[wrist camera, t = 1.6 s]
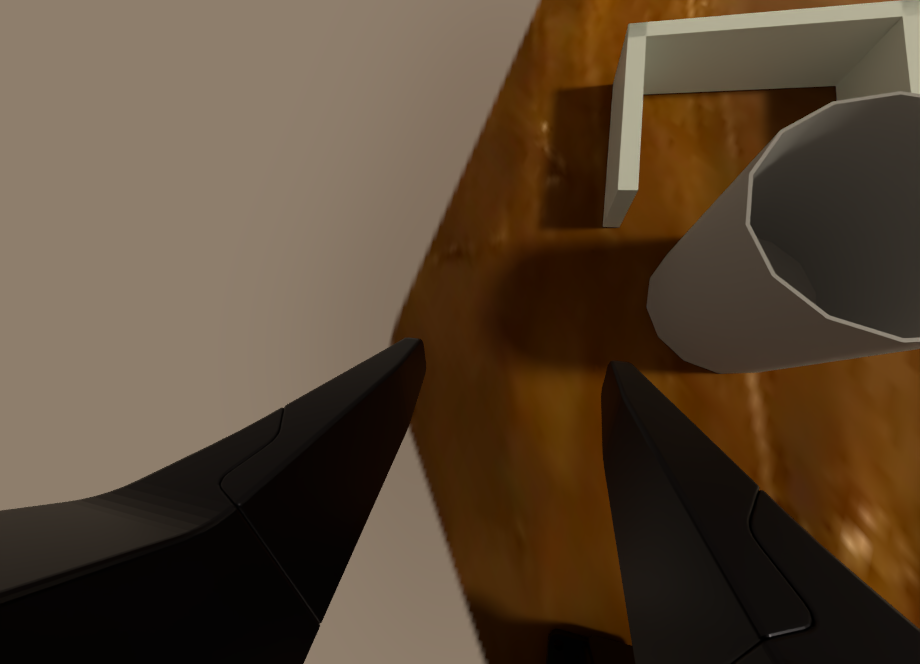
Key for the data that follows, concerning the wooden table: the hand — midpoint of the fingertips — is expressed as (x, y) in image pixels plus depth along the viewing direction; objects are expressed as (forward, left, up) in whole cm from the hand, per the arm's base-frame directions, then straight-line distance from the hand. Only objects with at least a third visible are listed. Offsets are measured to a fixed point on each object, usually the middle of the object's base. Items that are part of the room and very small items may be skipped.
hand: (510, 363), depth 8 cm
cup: (+7, -11, -14) cm, 19 cm away
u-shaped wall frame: (+16, -11, -14) cm, 24 cm away
